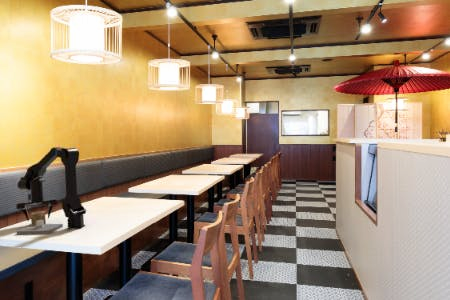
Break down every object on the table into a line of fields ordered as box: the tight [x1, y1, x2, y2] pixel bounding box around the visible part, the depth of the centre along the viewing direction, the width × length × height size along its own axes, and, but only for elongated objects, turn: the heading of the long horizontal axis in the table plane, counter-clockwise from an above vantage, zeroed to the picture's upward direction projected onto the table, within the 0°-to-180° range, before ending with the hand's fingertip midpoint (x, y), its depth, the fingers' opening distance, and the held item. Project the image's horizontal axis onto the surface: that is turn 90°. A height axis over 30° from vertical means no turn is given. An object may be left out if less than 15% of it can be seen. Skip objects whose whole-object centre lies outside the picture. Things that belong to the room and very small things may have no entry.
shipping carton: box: [30, 210, 47, 225], centre depth 178 cm, size 6×6×6 cm
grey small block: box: [36, 220, 44, 228], centre depth 166 cm, size 3×1×4 cm, turn 88°
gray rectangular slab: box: [16, 223, 64, 235], centre depth 166 cm, size 16×12×2 cm
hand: (38, 219), depth 178 cm, fingers open, 9 cm apart
